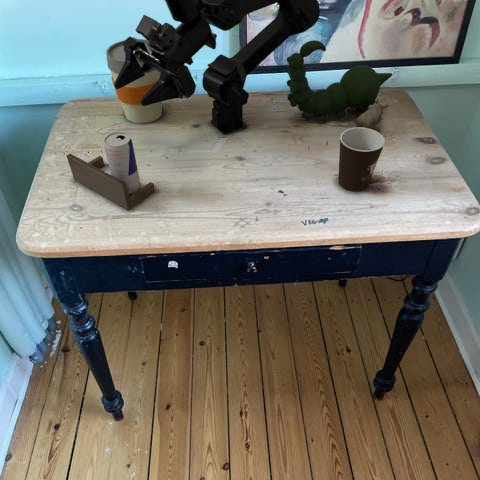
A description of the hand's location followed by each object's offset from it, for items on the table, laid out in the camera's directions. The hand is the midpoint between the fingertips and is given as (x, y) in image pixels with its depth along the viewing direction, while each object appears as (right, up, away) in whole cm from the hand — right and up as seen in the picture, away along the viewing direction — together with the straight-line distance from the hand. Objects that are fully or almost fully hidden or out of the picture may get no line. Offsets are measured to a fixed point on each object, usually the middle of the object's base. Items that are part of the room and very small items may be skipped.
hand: (128, 95), depth 96 cm
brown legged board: (-4, -15, +8) cm, 18 cm away
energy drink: (-1, -17, +7) cm, 19 cm away
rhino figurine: (+53, +1, +21) cm, 57 cm away
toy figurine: (+45, +7, +25) cm, 52 cm away
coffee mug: (+47, -14, +9) cm, 50 cm away
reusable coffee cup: (-2, +7, +27) cm, 28 cm away
